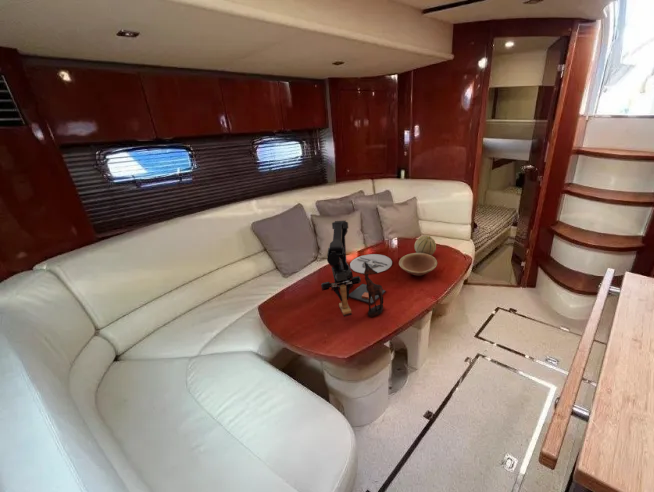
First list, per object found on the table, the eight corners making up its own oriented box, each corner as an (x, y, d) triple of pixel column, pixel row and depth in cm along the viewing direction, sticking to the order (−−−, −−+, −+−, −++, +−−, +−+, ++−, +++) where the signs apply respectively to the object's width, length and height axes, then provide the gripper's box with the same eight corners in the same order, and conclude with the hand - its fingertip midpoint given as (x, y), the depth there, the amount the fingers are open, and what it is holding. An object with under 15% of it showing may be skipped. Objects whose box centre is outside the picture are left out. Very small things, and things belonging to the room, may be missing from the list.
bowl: (393, 277, 185) (393, 266, 181) (407, 261, 204) (407, 250, 201) (430, 284, 177) (430, 272, 173) (441, 266, 196) (441, 255, 193)
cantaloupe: (413, 252, 217) (413, 232, 210) (433, 250, 218) (433, 231, 211) (416, 261, 204) (416, 240, 197) (437, 259, 205) (438, 239, 198)
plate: (400, 260, 206) (400, 258, 205) (375, 278, 185) (375, 276, 185) (367, 251, 219) (367, 250, 219) (341, 267, 199) (341, 265, 198)
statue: (372, 321, 148) (367, 267, 134) (362, 315, 152) (357, 262, 138) (388, 310, 156) (385, 258, 142) (378, 305, 160) (375, 254, 146)
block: (361, 297, 165) (361, 295, 164) (364, 293, 168) (364, 292, 168) (368, 299, 164) (368, 297, 163) (371, 295, 167) (371, 293, 166)
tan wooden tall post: (339, 307, 153) (336, 282, 145) (346, 305, 154) (344, 280, 147) (343, 316, 147) (341, 291, 139) (351, 314, 148) (349, 289, 141)
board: (347, 296, 168) (347, 295, 167) (362, 285, 178) (362, 283, 178) (371, 304, 161) (371, 303, 160) (385, 291, 171) (385, 290, 171)
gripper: (319, 268, 138) (325, 302, 135) (358, 261, 144) (366, 293, 141) (318, 274, 148) (324, 305, 146) (355, 267, 154) (362, 297, 151)
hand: (344, 300), depth 146 cm, fingers closed on tan wooden tall post, 3 cm apart
